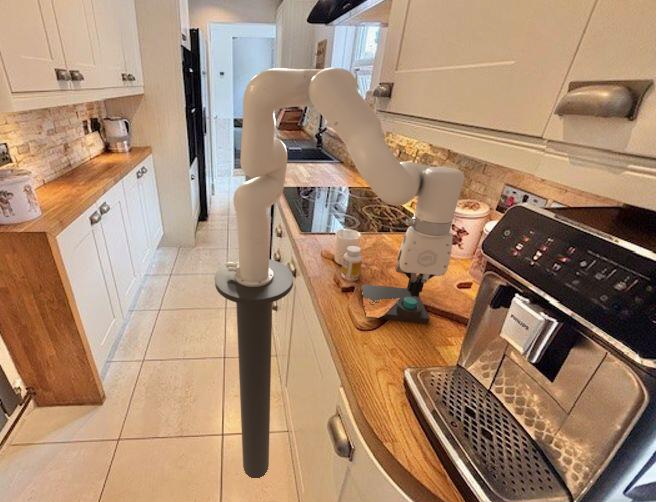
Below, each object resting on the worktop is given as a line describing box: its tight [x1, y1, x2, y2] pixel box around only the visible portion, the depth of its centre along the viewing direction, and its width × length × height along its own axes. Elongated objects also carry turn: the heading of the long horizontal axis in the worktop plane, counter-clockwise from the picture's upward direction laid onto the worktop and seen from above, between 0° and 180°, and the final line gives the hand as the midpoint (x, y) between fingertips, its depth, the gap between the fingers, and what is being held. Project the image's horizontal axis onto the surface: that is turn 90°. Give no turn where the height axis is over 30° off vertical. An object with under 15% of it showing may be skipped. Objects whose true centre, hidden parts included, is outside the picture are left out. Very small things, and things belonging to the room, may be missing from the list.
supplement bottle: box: [341, 246, 363, 282], centre depth 98 cm, size 5×5×10 cm
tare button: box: [403, 297, 417, 309], centre depth 82 cm, size 3×3×2 cm
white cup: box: [333, 228, 362, 266], centre depth 107 cm, size 8×8×10 cm
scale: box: [360, 284, 430, 325], centre depth 87 cm, size 15×14×4 cm
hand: (413, 293), depth 80 cm, fingers closed
